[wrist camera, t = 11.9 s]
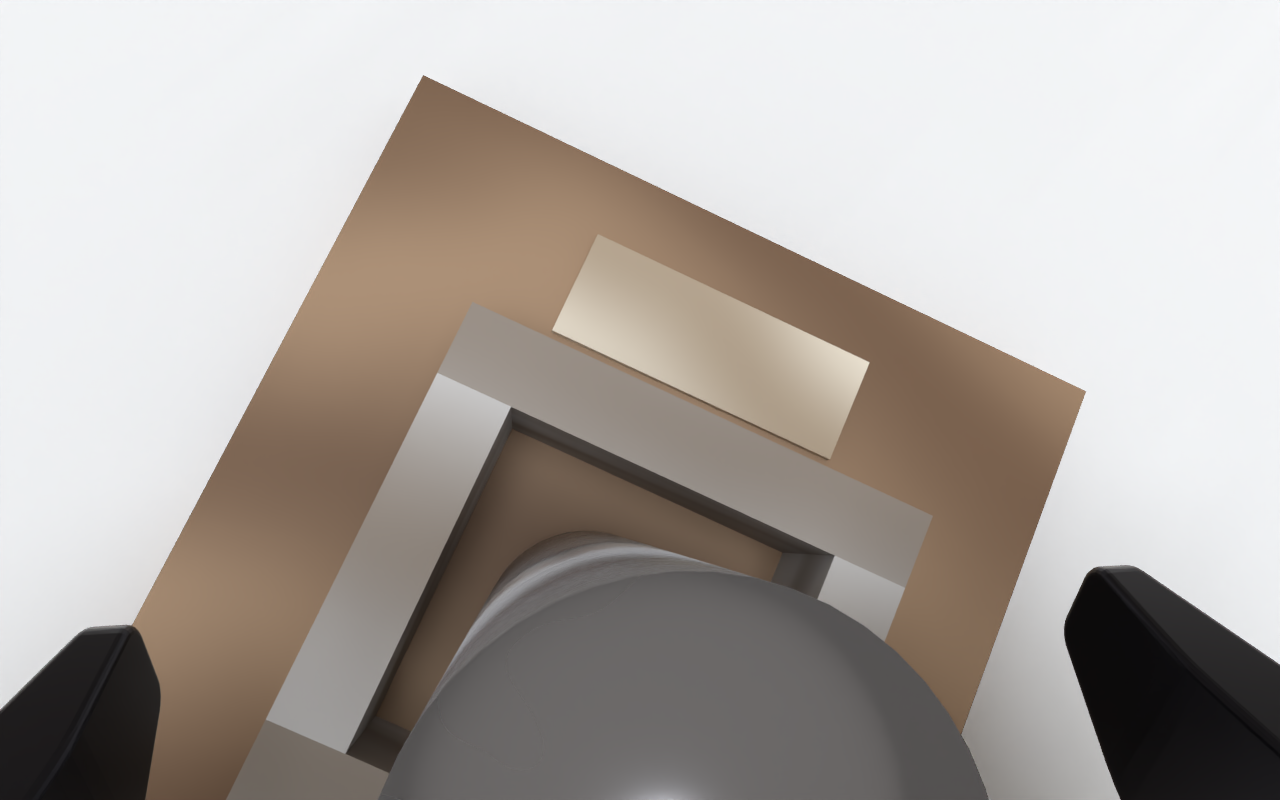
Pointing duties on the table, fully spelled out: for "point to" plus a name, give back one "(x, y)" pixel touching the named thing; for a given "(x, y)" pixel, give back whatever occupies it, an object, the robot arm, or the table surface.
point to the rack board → (569, 451)
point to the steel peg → (673, 692)
